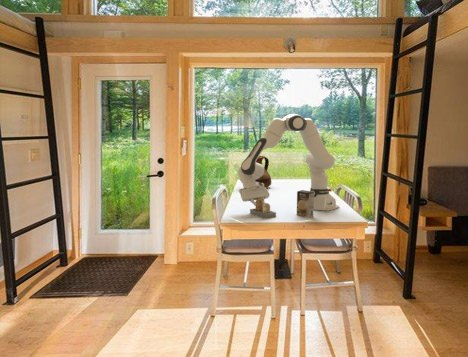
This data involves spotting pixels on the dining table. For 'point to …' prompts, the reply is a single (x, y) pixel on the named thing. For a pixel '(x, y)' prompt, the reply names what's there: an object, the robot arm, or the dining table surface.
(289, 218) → the dining table surface
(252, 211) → the egg carton
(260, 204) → the brown rounded oval piece
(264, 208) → the cream egg
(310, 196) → the coffee box
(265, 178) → the ceramic pitcher
